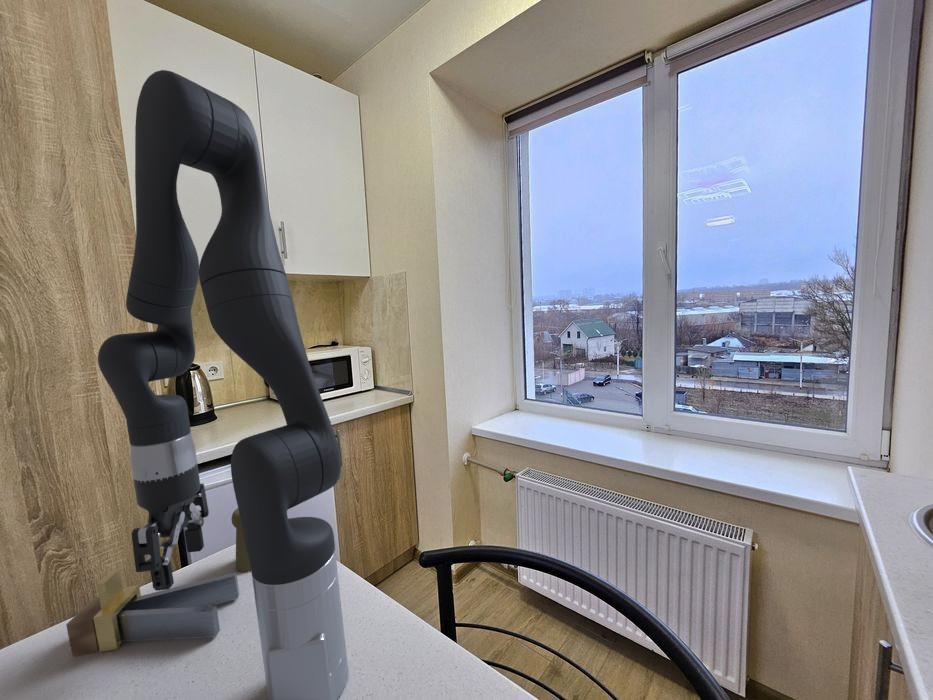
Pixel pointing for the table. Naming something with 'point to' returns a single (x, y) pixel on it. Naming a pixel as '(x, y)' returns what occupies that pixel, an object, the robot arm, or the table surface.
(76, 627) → the block
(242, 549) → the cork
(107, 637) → the collar
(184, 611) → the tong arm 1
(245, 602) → the table surface
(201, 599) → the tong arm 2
